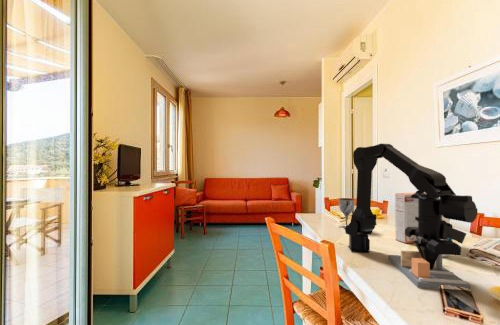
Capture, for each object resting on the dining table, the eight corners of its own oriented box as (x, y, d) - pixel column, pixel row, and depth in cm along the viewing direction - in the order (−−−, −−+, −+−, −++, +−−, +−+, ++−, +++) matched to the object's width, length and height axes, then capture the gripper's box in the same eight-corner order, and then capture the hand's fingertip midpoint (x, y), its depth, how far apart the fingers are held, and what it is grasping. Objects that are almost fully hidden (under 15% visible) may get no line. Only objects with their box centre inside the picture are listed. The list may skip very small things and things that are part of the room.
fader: (417, 277, 72) (417, 262, 72) (411, 272, 75) (411, 257, 75) (429, 278, 71) (429, 263, 71) (422, 272, 75) (422, 258, 75)
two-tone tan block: (433, 266, 79) (433, 252, 79) (435, 268, 78) (435, 253, 78) (400, 264, 81) (400, 250, 81) (402, 266, 80) (402, 251, 80)
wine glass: (357, 229, 131) (357, 200, 131) (341, 229, 131) (341, 200, 131) (351, 225, 138) (351, 198, 139) (336, 225, 139) (336, 198, 139)
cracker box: (420, 238, 117) (420, 192, 117) (432, 242, 111) (432, 193, 111) (394, 239, 114) (394, 192, 114) (405, 244, 108) (405, 194, 108)
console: (417, 287, 70) (417, 261, 70) (388, 259, 90) (388, 239, 90) (471, 291, 68) (471, 264, 68) (428, 261, 88) (428, 241, 88)
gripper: (485, 223, 64) (484, 286, 64) (441, 210, 83) (441, 258, 83) (436, 222, 66) (436, 282, 66) (404, 209, 84) (404, 256, 84)
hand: (429, 268), depth 75 cm, fingers closed
